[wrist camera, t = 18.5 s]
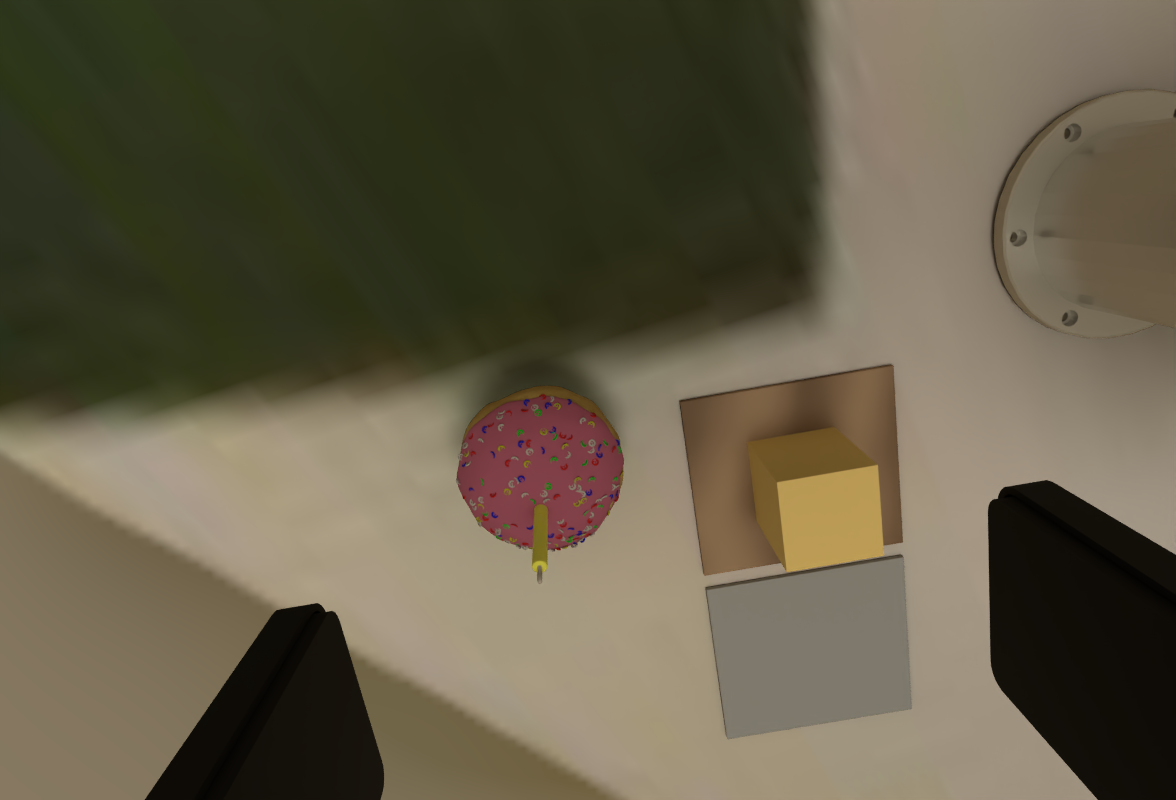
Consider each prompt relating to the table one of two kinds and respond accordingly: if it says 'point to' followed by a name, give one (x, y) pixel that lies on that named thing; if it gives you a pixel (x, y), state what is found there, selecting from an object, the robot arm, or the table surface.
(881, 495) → the walnut mat
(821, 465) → the mustard block
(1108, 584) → the robot arm
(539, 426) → the cupcake
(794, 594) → the grey mat
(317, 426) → the table surface
